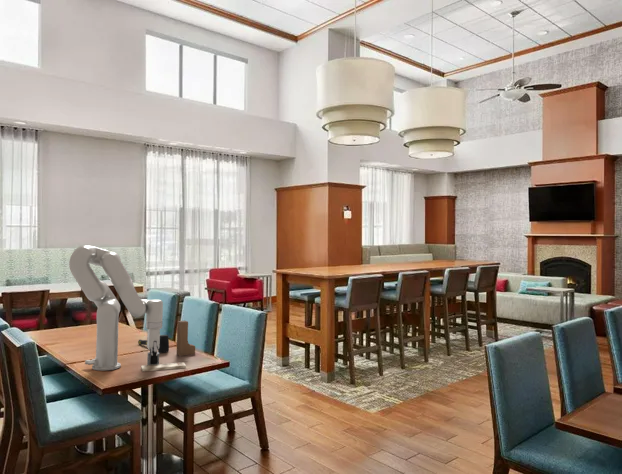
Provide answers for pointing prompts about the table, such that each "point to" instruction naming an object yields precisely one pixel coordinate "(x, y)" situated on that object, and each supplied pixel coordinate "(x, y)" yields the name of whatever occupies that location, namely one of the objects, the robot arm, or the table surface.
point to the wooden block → (183, 340)
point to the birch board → (163, 366)
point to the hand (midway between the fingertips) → (153, 362)
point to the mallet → (162, 346)
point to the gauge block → (150, 359)
